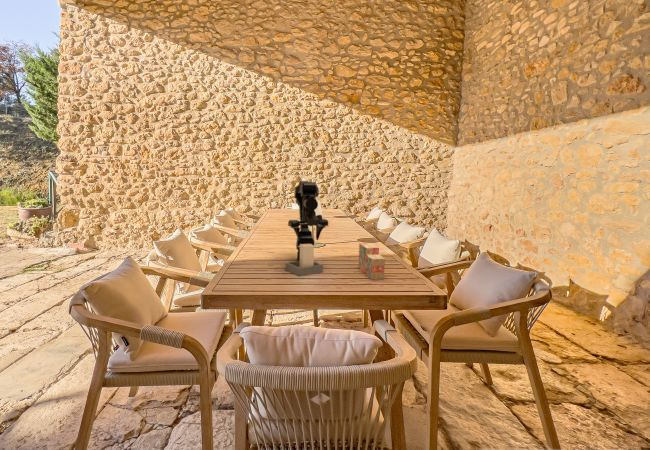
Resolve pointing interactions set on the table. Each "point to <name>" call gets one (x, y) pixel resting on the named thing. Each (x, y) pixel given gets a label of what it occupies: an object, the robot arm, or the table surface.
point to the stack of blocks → (371, 261)
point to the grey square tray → (295, 268)
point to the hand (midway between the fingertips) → (308, 240)
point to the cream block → (306, 255)
